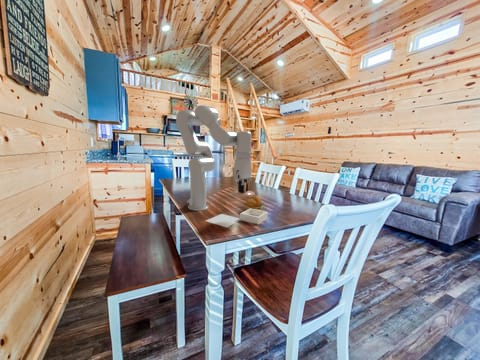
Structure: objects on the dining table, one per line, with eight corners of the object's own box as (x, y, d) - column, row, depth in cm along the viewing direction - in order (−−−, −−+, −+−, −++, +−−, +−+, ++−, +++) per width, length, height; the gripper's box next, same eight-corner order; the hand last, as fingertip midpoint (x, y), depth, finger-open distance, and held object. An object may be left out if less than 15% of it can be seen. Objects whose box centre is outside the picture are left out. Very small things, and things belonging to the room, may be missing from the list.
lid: (226, 194, 108) (226, 182, 107) (240, 190, 117) (240, 179, 116) (246, 198, 101) (246, 185, 100) (258, 193, 111) (259, 182, 110)
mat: (204, 221, 108) (204, 220, 108) (221, 214, 120) (221, 213, 120) (226, 228, 101) (226, 227, 101) (242, 219, 113) (242, 219, 113)
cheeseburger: (266, 209, 131) (265, 195, 127) (258, 218, 123) (258, 203, 119) (251, 206, 136) (250, 192, 132) (243, 214, 127) (242, 200, 124)
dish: (239, 220, 112) (240, 213, 111) (250, 214, 121) (250, 208, 120) (258, 225, 106) (258, 217, 105) (267, 219, 115) (268, 212, 114)
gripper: (246, 155, 115) (245, 188, 118) (227, 156, 102) (227, 193, 104) (258, 156, 111) (257, 190, 114) (240, 157, 97) (240, 195, 100)
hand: (243, 191), depth 109 cm, fingers closed on lid, 3 cm apart
